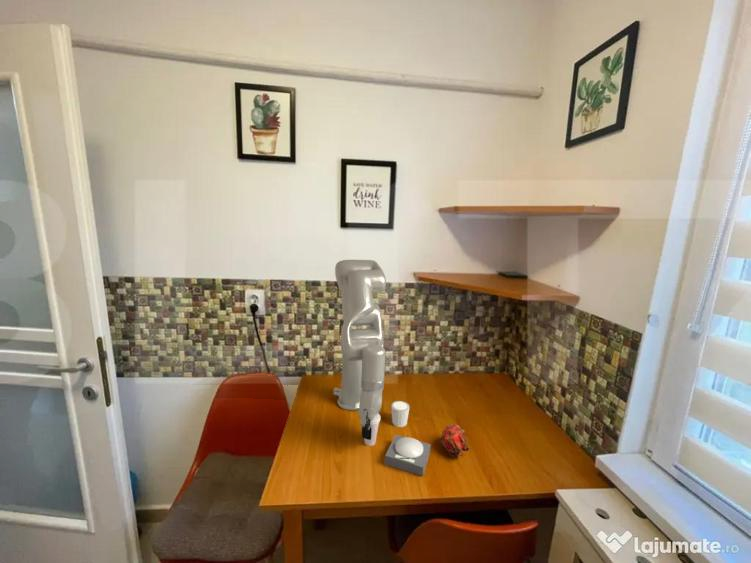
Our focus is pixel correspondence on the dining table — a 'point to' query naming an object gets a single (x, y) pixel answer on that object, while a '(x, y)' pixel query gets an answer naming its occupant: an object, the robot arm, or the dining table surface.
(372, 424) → the smoothie
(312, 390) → the dining table surface
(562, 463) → the dining table surface
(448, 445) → the dragon fruit
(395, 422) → the white cup
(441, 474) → the dining table surface
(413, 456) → the scale
